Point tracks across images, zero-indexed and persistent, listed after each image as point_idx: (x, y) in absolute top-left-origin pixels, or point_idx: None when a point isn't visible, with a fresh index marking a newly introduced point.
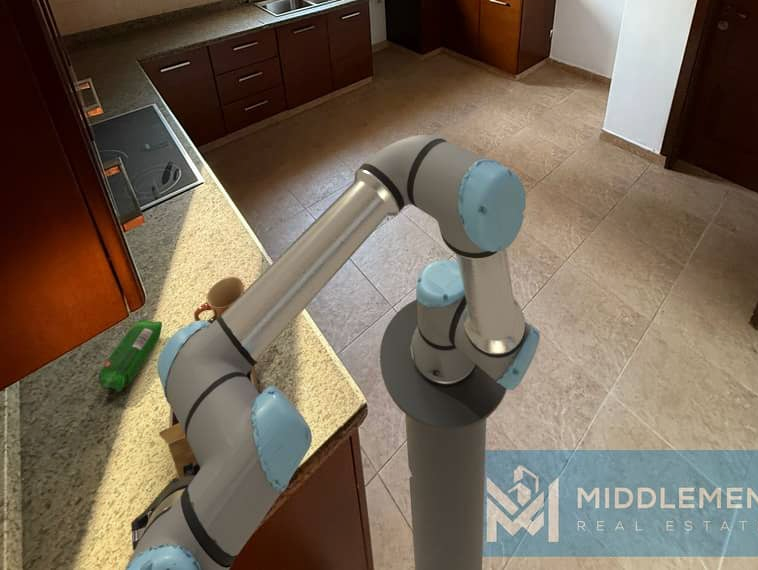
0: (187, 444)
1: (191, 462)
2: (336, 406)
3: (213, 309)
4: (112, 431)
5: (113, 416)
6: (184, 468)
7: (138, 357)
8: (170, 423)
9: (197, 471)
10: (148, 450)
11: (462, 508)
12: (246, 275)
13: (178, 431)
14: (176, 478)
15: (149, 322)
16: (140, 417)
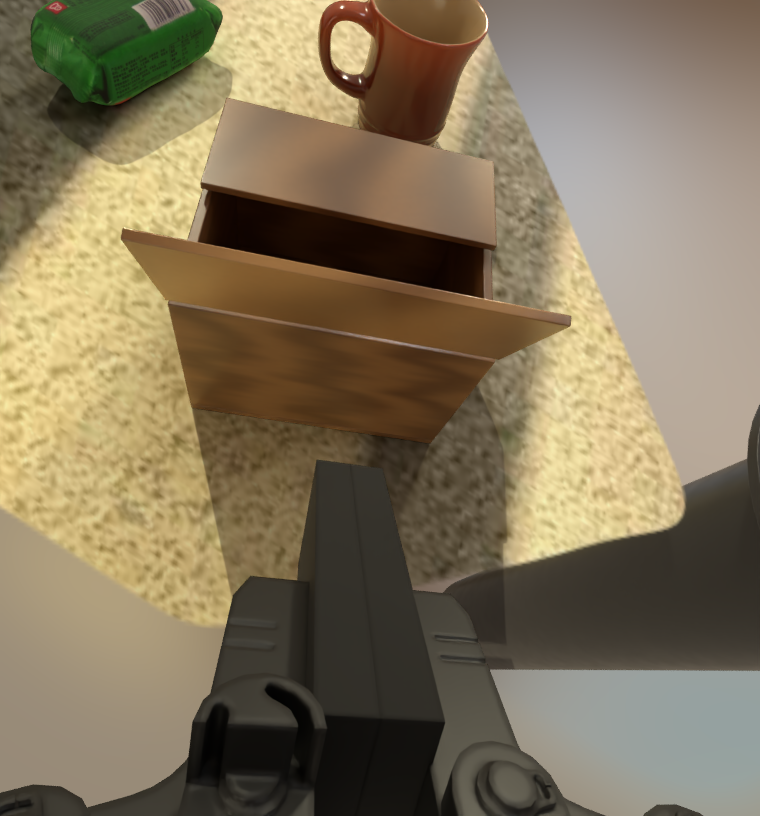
0: (232, 341)
1: (310, 700)
2: (634, 485)
3: (383, 31)
4: (45, 185)
5: (56, 154)
6: (207, 731)
7: (143, 47)
8: None
9: (341, 768)
10: (125, 283)
11: (623, 668)
12: None
13: (212, 282)
14: (70, 808)
15: None
16: (122, 197)
